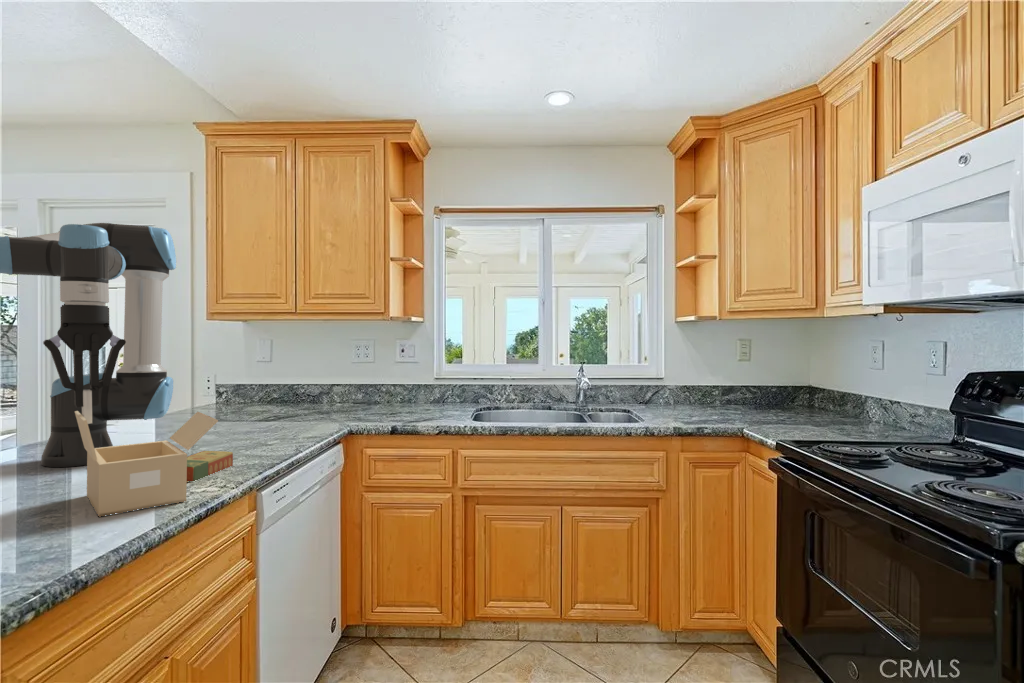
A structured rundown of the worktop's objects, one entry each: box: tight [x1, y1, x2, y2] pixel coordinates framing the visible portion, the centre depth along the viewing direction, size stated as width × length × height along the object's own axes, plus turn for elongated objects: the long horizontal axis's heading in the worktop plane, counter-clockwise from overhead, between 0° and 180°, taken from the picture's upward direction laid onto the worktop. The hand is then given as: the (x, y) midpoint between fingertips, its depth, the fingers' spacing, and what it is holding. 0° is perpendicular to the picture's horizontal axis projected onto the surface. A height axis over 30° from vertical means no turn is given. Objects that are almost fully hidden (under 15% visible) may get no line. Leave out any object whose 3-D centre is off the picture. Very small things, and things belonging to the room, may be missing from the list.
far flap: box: [169, 411, 219, 451], centre depth 118 cm, size 15×8×1 cm
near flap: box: [75, 411, 97, 461], centre depth 104 cm, size 15×8×1 cm
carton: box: [187, 450, 234, 482], centre depth 132 cm, size 8×16×4 cm, turn 177°
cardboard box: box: [86, 440, 188, 518], centre depth 110 cm, size 18×14×10 cm
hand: (87, 422), depth 105 cm, fingers closed
